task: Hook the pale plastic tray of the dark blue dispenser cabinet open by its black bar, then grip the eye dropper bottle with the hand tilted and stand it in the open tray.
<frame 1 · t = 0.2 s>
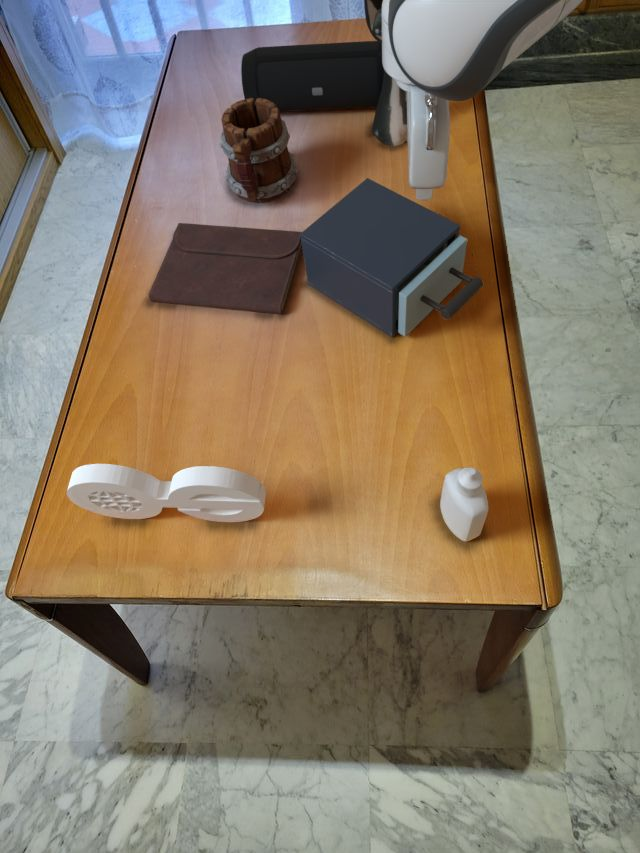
hand: (422, 167, 72), 20 cm above the table, tool pointing down, fingers open, 8 cm apart
figurine: (391, 133, 107), on the table
eye dropper bottle: (459, 519, 71), on the table
mug: (263, 189, 103), on the table
white double disc plate: (180, 512, 75), on the table
cabinet: (380, 281, 90), on the table
drawer: (406, 272, 84), point 5 cm above the table, slide at 0.5 cm
portable speaker: (322, 106, 113), on the table
brown leather sleeve case: (229, 271, 94), on the table
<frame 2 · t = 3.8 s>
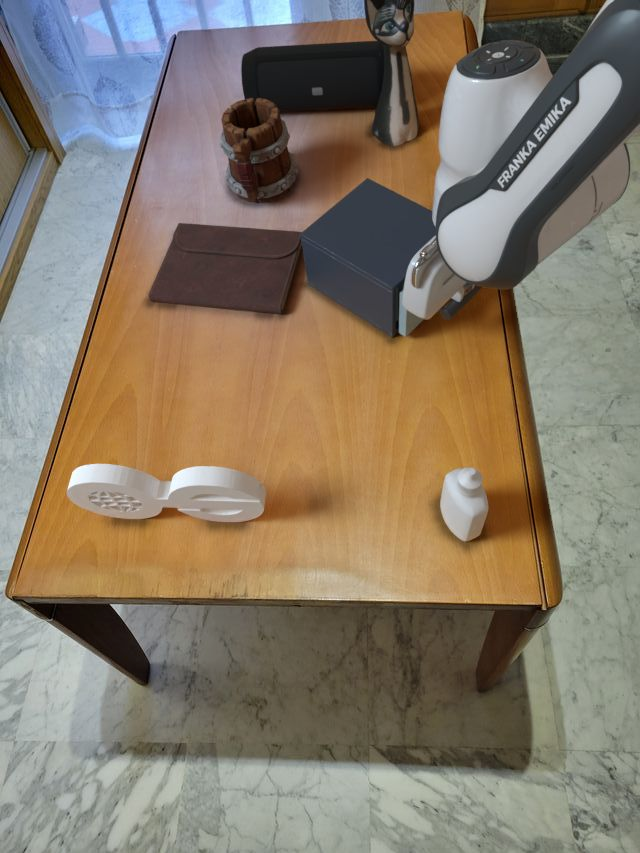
hand: (461, 293, 79), 7 cm above the table, tool pointing down, fingers closed, pressing on drawer
drawer: (407, 272, 84), point 5 cm above the table, slide at 0.6 cm, touching gripper
everything else where it was.
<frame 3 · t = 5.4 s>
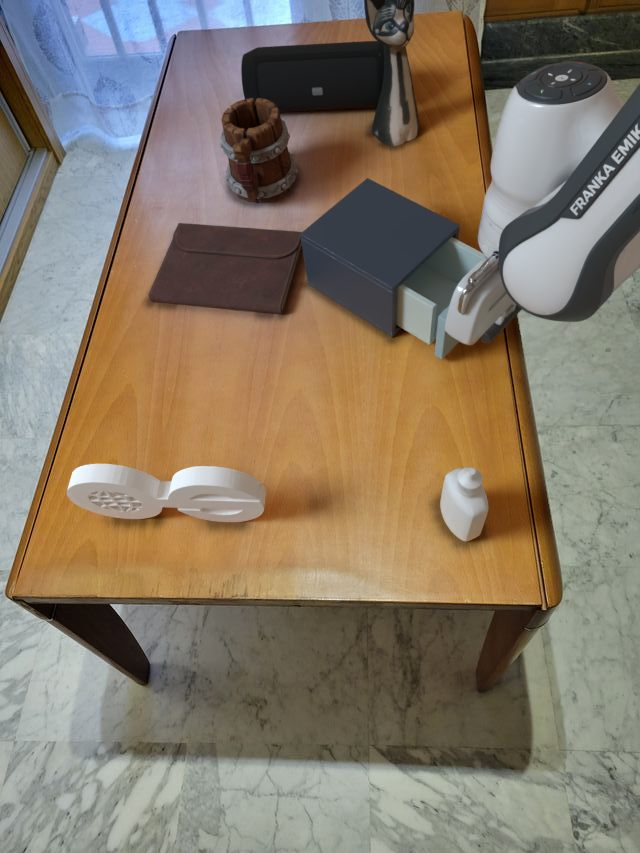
hand: (501, 315, 77), 7 cm above the table, tool pointing down, fingers closed, pressing on drawer
drawer: (442, 292, 82), point 5 cm above the table, slide at 6.5 cm, touching gripper
everything else where it was.
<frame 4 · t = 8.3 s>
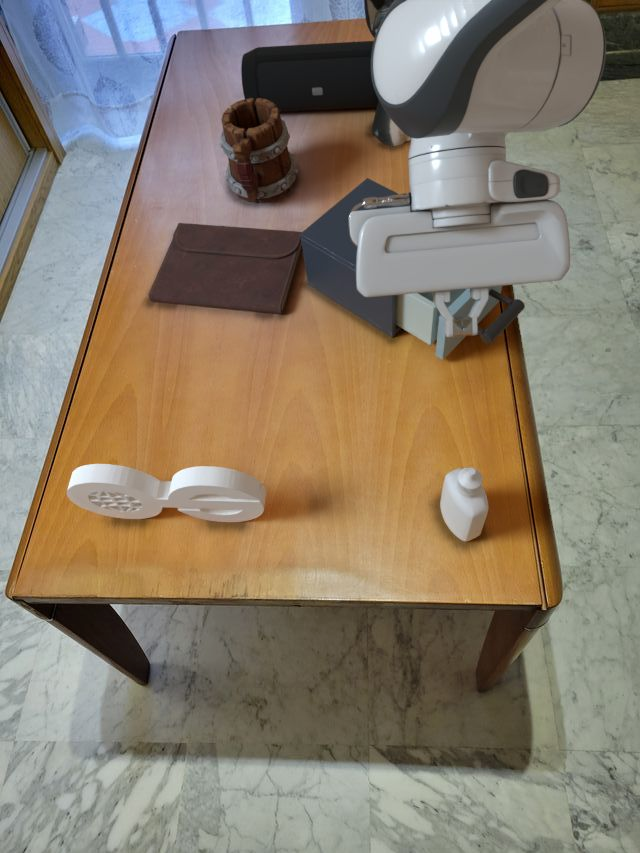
hand: (461, 335, 63), 17 cm above the table, tool tilted 45°, fingers closed
drawer: (443, 293, 82), point 5 cm above the table, slide at 6.6 cm
everything else where it was.
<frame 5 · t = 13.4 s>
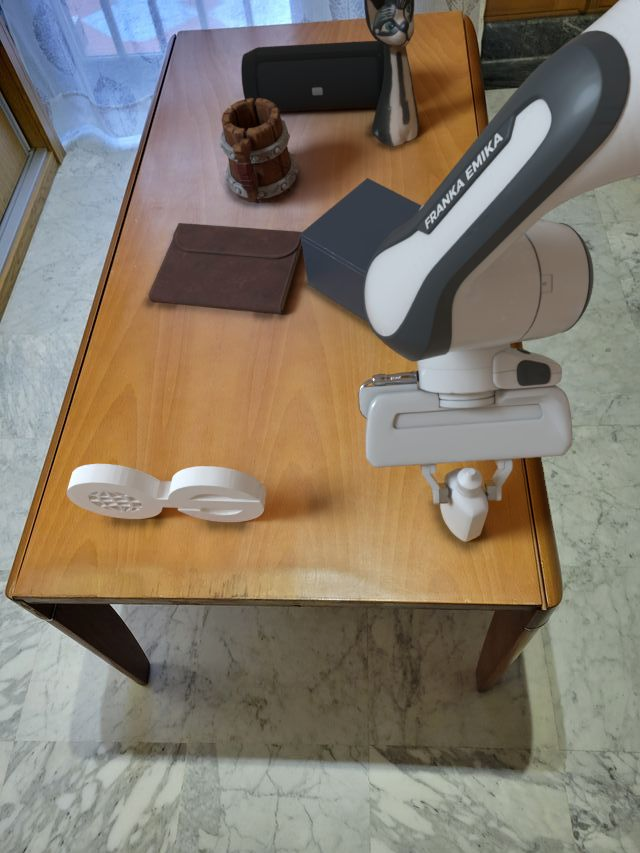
hand: (467, 500, 65), 7 cm above the table, tool tilted 45°, fingers closed on eye dropper bottle, 4 cm apart
eye dropper bottle: (459, 519, 71), on the table, touching gripper
everything else where it was.
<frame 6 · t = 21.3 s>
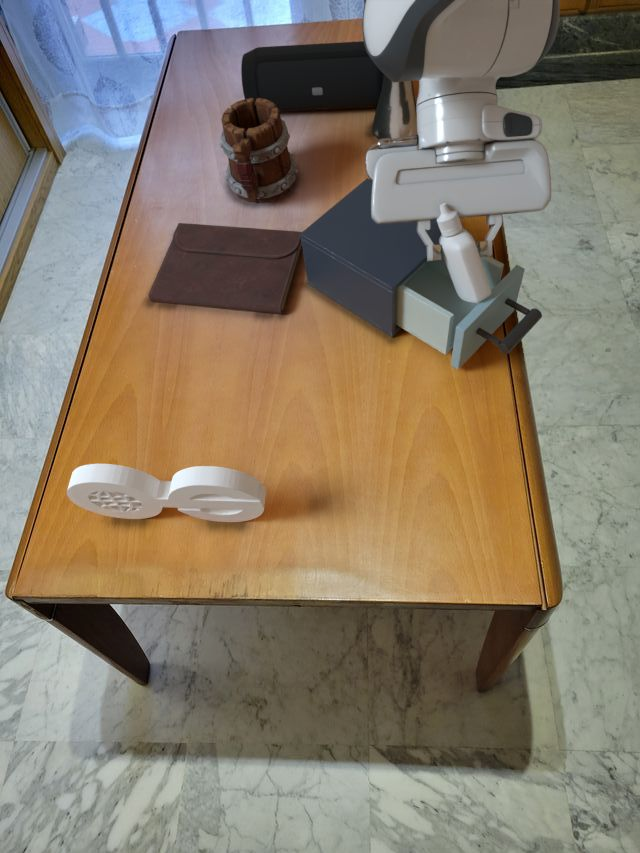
hand: (459, 258, 75), 12 cm above the table, tool tilted 45°, fingers closed on eye dropper bottle, 4 cm apart
eye dropper bottle: (474, 294, 78), point 8 cm above the table, touching drawer, gripper
drawer: (459, 302, 81), point 5 cm above the table, slide at 9.0 cm, touching eye dropper bottle
everything else where it was.
when the fingers open (11 cm above the table, at t = 22.0 s): eye dropper bottle stays where it is, resting on drawer.
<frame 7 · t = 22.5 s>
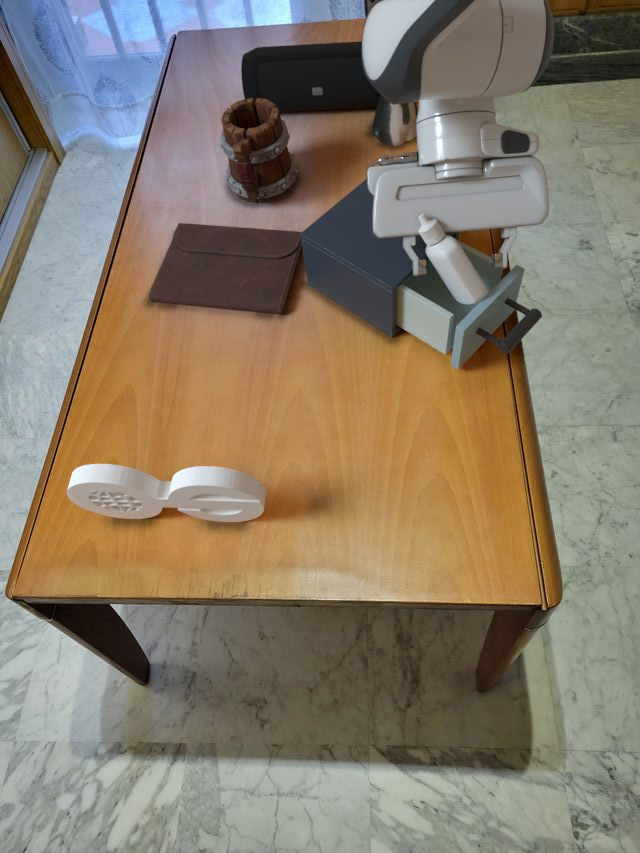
hand: (459, 272, 76), 10 cm above the table, tool tilted 45°, fingers open, 8 cm apart
eye dropper bottle: (472, 296, 78), point 7 cm above the table, touching drawer, gripper
everything else where it was.
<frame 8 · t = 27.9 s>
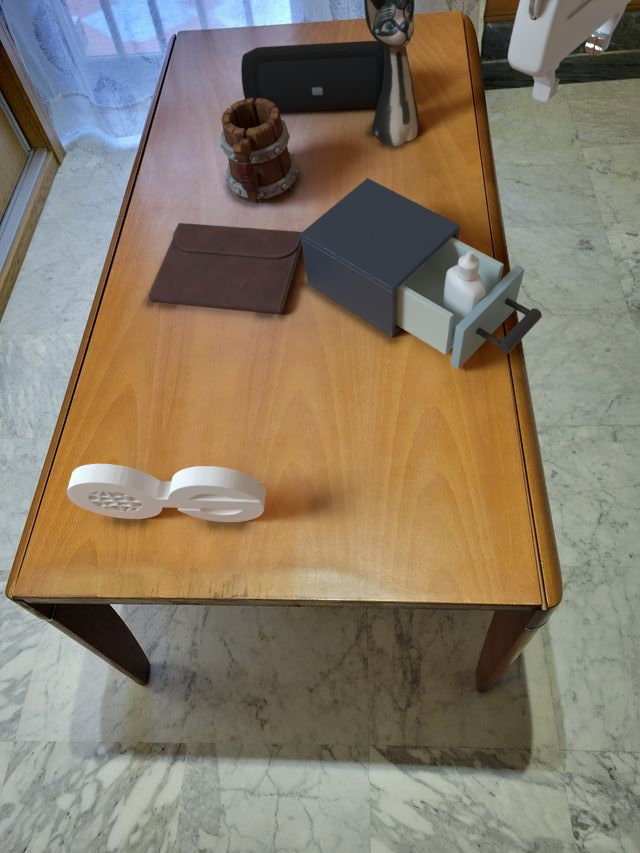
hand: (569, 74, 63), 29 cm above the table, tool pointing down, fingers open, 8 cm apart
eye dropper bottle: (460, 321, 83), point 2 cm above the table, touching drawer
everything else where it was.
at the end: drawer slide at 9.0 cm; eye dropper bottle inside the target area in the drawer (1.9 cm from its centre), point 1.8 cm above the cabinet's base; the gripper is holding nothing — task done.
